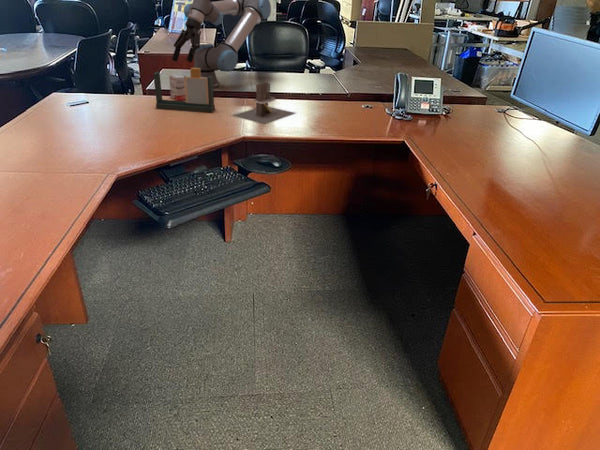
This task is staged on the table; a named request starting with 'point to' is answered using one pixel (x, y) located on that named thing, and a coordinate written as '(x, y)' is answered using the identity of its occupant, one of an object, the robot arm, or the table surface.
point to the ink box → (177, 87)
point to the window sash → (196, 87)
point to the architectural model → (263, 107)
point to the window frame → (182, 104)
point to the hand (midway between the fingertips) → (181, 61)
